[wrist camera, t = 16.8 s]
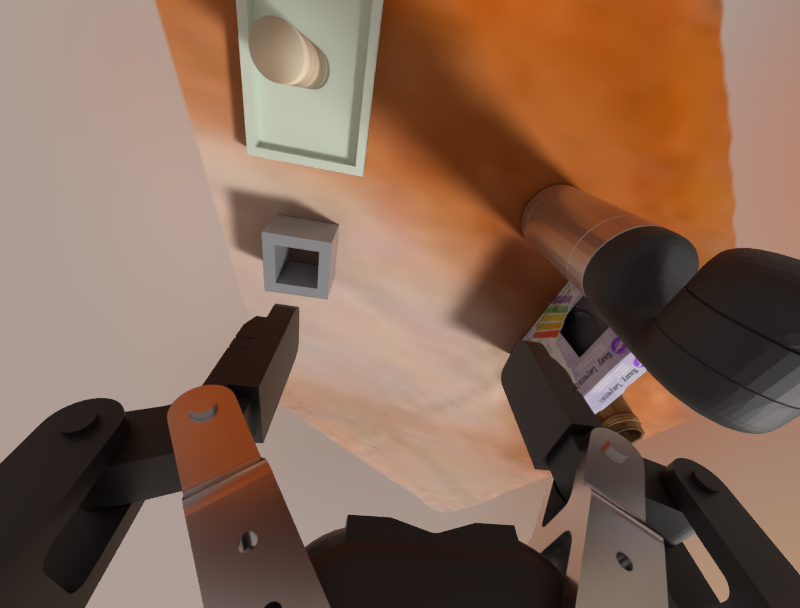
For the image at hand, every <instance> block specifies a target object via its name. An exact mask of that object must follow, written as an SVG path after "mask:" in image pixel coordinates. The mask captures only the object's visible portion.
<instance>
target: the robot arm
mask: <svg viewBox="0 0 800 608" xmlns="http://www.w3.org/2000/svg"><path fill="white" fill-rule="evenodd" d="M521 229H522V232H523V235H524V236H525V238H526V239H527V240H528V241H529V242H530V243H531V244H532V245H533V246H534V247H535V248H536V249H537V250H538V251H539V252H540V253H541V254H542V255H543V256H544V257H545V258H546V259H547V260H548V261H549V262H550V263H551V264H552V265H553V266H554V267H555V268H556V269H557V270H558V271H559V272H560V273H561V274H562V275H563V276H565V277H566V278H567V279H568V280H569V281H570V282H571V283H572V284H573V285H574V286H575V287H576V288H577V289H578V290H579V291H580V292H581V293H582V294H583V295H584V296H585V297H586V298H587V299H588V300H589V301H590V302H591V303H592V306H593V308H594V310H595V311H596V313H597V314H598V315H599V316H600V317H601V318H602V320H603V321H604V322H605V323H606V324H607V325H608V326H609V327H610V328H611V329H612V331H613V332H614V333H615V334H616V335H617V336H618V337H619V339H620V340H621V341H622V342H623V343H624V344H625V346H626V347H627V348H628V349H629V350H630V352H631V353H632V354H633V355H634V356H635V357H636V359H637V360H638V361H639V362H640V363H641V364H642V365H643V366H644V367H645V368H646V370H647V371H648V372H649V373H650V374H651V375H652V376H653V377H654V378H655V379H656V380H657V381H658V382H659V383H660V384H661V385H663V386H664V387H665V388H666V389H667V390H668V391H669V392H670V393H671V394H673V395H674V396H675V397H676V398H678V399H679V400H680V401H682V402H683V403H685V404H686V405H687V406H689V407H690V408H691V409H693V410H694V411H696V412H697V413H699V414H701V415H702V416H704V417H706V418H708V419H710V420H712V421H714V422H715V423H718V424H720V425H722V426H724V427H727V428H730V429H733V430H736V431H740V432H745V433H752V434H762V433H767V432H771V431H773V430H776V429H777V428H780V427H782V426H783V425H785V424H787V423H789V422H790V421H792V420H793V419H795V418H797V417H798V416H799V415H800V260H798V259H795V258H792V257H788V256H785V255H781V254H778V253H773V252H769V251H764V250H759V249H751V248H736V249H730V250H726V251H723V252H721V253H719V254H717V255H716V256H715V257H713V258H712V259H711V260H710V261H708V262H707V263H706V264H705V265H704V266H703V267H702V268H701V269H700V270H699V271H698V267H699V259H698V254H697V251H696V249H695V247H694V246H693V245H692V244H691V243H690V242H689V241H688V240H687V239H686V238H684V237H682V236H681V235H679V234H677V233H675V232H673V231H670V230H668V229H666V228H664V227H661V226H659V225H657V224H655V223H652V222H650V221H648V220H646V219H643V218H641V217H639V216H637V215H634V214H632V213H630V212H628V211H625V210H623V209H621V208H619V207H617V206H614V205H612V204H610V203H608V202H606V201H603V200H601V199H599V198H597V197H595V196H592V195H590V194H588V193H586V192H584V191H582V190H579V189H577V188H575V187H573V186H570V185H566V184H557V185H553V186H549V187H547V188H545V189H543V190H541V191H540V192H538V193H537V194H536V195H535V196H534V197H533V198H532V199H531V200H530V201H529V203H528V204H527V205H526V207H525V209H524V211H523V214H522V218H521ZM298 343H299V307H295V306H288V305H281V304H275V305H274V306H273V308H272V310H271V311H270V313H269V315H268V316H267V317H260V316H256V317H254V318H253V319H251V320H250V321H248V322H247V323H245V324H244V325H243V326H242V328H241V329H240V331H239V332H238V333H237V335H236V338H234V339H233V341H232V342H231V344H230V347H229V348H228V349H227V350H226V351H225V353H224V354H223V356H222V357H221V359H220V360H219V362H218V363H217V365H216V366H215V368H214V369H213V370H212V372H211V373H210V375H209V376H208V378H207V379H206V381H205V382H204V384H203V385H202V386H200V387H196V388H194V389H191V390H189V391H187V392H185V393H184V394H182V395H181V396H179V397H178V398H177V399H176V400H175V401H174V402H173V403H172V404H171V405H167V406H162V407H155V408H149V409H142V410H135V411H129V412H125V411H124V409H123V407H122V405H121V404H120V403H119V402H117V401H115V400H112V399H106V398H96V399H89V400H84V401H81V402H77V403H74V404H72V405H69V406H67V407H65V408H63V409H61V410H59V411H57V412H55V413H54V414H52V415H51V416H50V417H48V418H47V419H46V420H44V421H43V422H42V423H41V424H40V425H39V426H38V427H37V428H36V429H35V430H34V431H33V432H32V433H31V434H30V435H29V436H28V437H27V438H26V439H25V440H24V441H23V442H22V443H21V444H20V445H19V446H18V447H17V448H16V449H15V450H14V451H13V452H12V453H11V454H10V455H9V456H8V457H7V458H6V459H5V460H4V461H3V462H1V463H0V608H85V606H86V605H87V603H88V601H89V599H90V597H91V596H92V594H93V592H94V590H95V588H96V587H97V585H98V583H99V581H100V580H101V578H102V576H103V574H104V572H105V571H106V569H107V567H108V565H109V563H110V562H111V560H112V558H113V556H114V555H115V553H116V551H117V549H118V548H119V546H120V544H121V542H122V540H123V539H124V537H125V535H126V533H127V532H128V530H129V528H130V526H131V524H132V523H133V521H134V519H135V517H136V515H137V513H138V512H139V510H140V508H141V506H142V505H143V503H144V501H145V500H147V499H151V498H155V497H159V496H163V495H167V494H171V493H175V492H179V491H182V492H183V499H182V501H183V509H184V514H185V519H186V524H187V529H188V533H189V538H190V543H191V548H192V553H193V557H194V562H195V567H196V572H197V577H198V582H199V586H200V591H201V596H202V601H203V606H204V608H800V575H799V573H798V572H797V571H796V570H795V569H794V567H793V566H792V565H791V564H790V563H789V562H788V560H787V559H786V558H785V557H784V555H783V554H782V553H781V552H780V551H779V549H778V548H777V547H776V546H775V545H774V543H773V542H772V541H771V540H770V539H769V537H768V536H767V535H766V534H765V532H764V531H763V530H762V529H761V528H760V527H759V525H758V524H757V523H756V522H755V520H754V519H753V518H752V517H751V516H750V515H749V513H748V512H747V511H746V510H745V508H744V507H743V506H742V505H741V504H740V502H739V501H738V500H737V499H736V498H735V496H734V495H733V494H732V493H731V492H730V490H729V489H728V488H727V487H726V486H725V485H724V483H723V482H722V481H721V480H720V479H719V478H718V477H716V476H715V475H714V474H713V473H712V472H710V471H709V470H708V469H706V468H705V467H703V466H702V465H700V464H698V463H696V462H694V461H692V460H689V459H685V458H677V459H675V460H674V461H673V462H672V463H670V464H669V465H668V466H667V467H666V466H663V465H661V464H658V463H656V462H653V461H650V460H648V459H645V458H642V456H641V455H640V453H639V452H638V450H637V449H636V448H635V447H634V446H633V445H632V444H631V443H630V442H629V441H628V440H627V439H626V438H624V437H623V436H622V435H620V434H618V433H617V432H615V431H612V430H610V429H607V428H603V426H602V424H601V423H600V421H599V420H598V418H597V417H596V415H595V414H594V412H593V411H592V409H591V408H590V406H589V405H588V403H587V402H586V400H585V399H584V397H583V395H582V394H581V393H580V392H579V389H578V388H577V386H576V385H575V383H573V382H572V381H573V380H572V379H571V377H570V376H569V374H568V373H567V371H566V369H565V368H564V367H563V366H561V365H560V364H559V363H558V362H557V361H556V360H555V359H554V358H551V356H550V354H549V353H548V351H547V350H546V348H545V346H544V345H543V344H542V343H540V342H533V341H526V340H519V341H518V342H517V343H516V345H515V347H514V349H513V351H512V352H511V354H510V356H509V358H508V360H507V362H506V364H505V366H504V368H503V370H502V375H501V381H502V386H503V388H504V391H505V394H506V396H507V399H508V401H509V404H510V406H511V409H512V411H513V414H514V417H515V419H516V422H517V424H518V427H519V429H520V432H521V434H522V437H523V439H524V442H525V445H526V447H527V450H528V452H529V455H530V457H531V460H532V462H533V465H534V468H535V469H540V470H550V471H551V473H552V478H551V479H550V480H549V482H548V484H547V488H546V491H545V495H544V498H543V502H542V505H541V509H540V512H539V516H538V520H537V523H536V527H535V530H534V533H533V535H532V537H531V539H530V541H529V543H528V544H527V545H526V544H524V543H522V542H520V541H518V537H517V534H516V530H515V527H514V526H513V525H497V524H483V523H474V524H470V525H467V526H463V527H460V528H455V529H452V530H448V531H444V532H441V533H431V532H428V531H426V530H423V529H420V528H418V527H415V526H412V525H410V524H407V523H404V522H402V521H399V520H396V519H393V518H389V517H375V516H360V515H359V516H358V515H348V517H347V521H346V526H345V528H342V529H339V530H335V531H332V532H330V533H328V534H325V535H323V536H321V537H319V538H318V539H316V540H314V541H313V542H311V543H310V544H309V545H307V546H306V547H304V545H303V542H302V540H301V538H300V535H299V533H298V531H297V528H296V526H295V523H294V521H293V519H292V516H291V514H290V512H289V510H288V507H287V505H286V502H285V500H284V498H283V495H282V493H281V491H280V488H279V486H278V484H277V482H276V479H275V477H274V474H273V472H272V470H271V468H270V466H269V464H268V462H267V460H266V459H265V458H263V459H262V458H261V456H260V454H259V452H258V449H257V447H256V444H255V443H263V442H264V440H265V437H266V434H267V432H268V429H269V426H270V424H271V421H272V419H273V416H274V413H275V411H276V408H277V406H278V403H279V400H280V398H281V395H282V392H283V390H284V387H285V385H286V382H287V379H288V377H289V374H290V371H291V369H292V366H293V364H294V361H295V358H296V355H297V350H298ZM695 533H696V534H697V536H698V537H699V538H700V540H701V542H702V543H703V545H704V546H705V548H706V549H707V551H708V552H709V554H710V555H711V557H712V558H713V560H714V561H715V563H716V564H717V566H718V567H719V569H720V570H721V571H722V573H723V575H724V576H725V578H726V580H727V582H728V585H729V591H730V594H729V598H728V599H727V600H726V601H725V602H722V603H720V602H719V600H718V598H717V597H716V595H715V594H714V592H713V591H712V589H711V587H710V586H709V584H708V582H707V581H706V579H705V578H704V576H703V574H702V573H701V571H700V569H699V568H698V566H697V565H696V563H695V561H694V560H693V558H692V557H691V555H690V553H689V552H688V550H687V549H686V547H685V545H684V544H683V542H682V541H684V540H686V539H687V538H689V537H691V536H692V535H694V534H695Z"/></svg>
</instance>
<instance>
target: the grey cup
mask: <svg viewBox="0 0 800 608" xmlns="http://www.w3.org/2000/svg"><path fill="white" fill-rule="evenodd" d="M338 229H339V225H337V224H332V223H326V222H320V221H314V220H308V219H302V218H296V217H290V216H284V215H277V216H276V217H275V218H274V219H273V220H272V221H271V222H270V223H269V224H268V225H267V226H266V227H265V228H264V230H263V231H262V232H261V235H262V252H263V269H264V286H265V291H270V292H277V293H285V294H292V295H299V296H307V297H314V298H321V299H328V297H329V293H330V290H331V287H332V283H333V280H334V277H335V266H336V254H337V241H338ZM289 247H290V248H297V249H303V250H310V251H316V252H319V265H313V264H307V263H300V262H293V261H289Z"/></svg>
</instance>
